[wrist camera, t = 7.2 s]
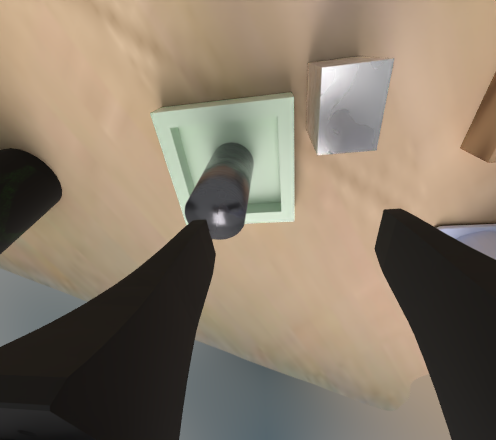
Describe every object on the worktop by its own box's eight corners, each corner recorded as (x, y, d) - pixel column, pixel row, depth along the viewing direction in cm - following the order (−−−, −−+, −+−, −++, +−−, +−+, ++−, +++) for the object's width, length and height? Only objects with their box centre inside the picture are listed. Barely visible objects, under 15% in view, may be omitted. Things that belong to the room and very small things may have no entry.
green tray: (292, 207, 21) (294, 221, 19) (193, 213, 22) (186, 226, 20) (291, 92, 16) (293, 96, 14) (161, 107, 17) (150, 113, 15)
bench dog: (350, 125, 17) (376, 150, 12) (306, 129, 17) (317, 155, 13) (359, 56, 14) (394, 58, 10) (307, 62, 15) (321, 67, 11)
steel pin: (254, 182, 19) (246, 240, 13) (214, 182, 19) (190, 238, 14) (253, 142, 17) (243, 189, 11) (209, 142, 17) (178, 189, 12)
